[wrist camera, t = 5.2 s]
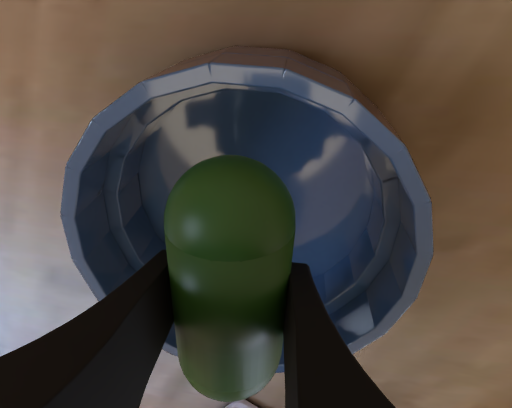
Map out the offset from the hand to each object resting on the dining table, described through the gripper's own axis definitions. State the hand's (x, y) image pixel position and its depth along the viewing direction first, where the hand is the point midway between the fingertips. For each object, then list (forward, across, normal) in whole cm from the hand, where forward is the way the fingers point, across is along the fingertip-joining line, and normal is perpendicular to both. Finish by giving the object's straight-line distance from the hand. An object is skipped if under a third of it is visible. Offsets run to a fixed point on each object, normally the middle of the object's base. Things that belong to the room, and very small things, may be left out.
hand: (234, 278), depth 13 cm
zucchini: (+1, 0, 0) cm, 1 cm away
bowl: (+6, 0, 0) cm, 6 cm away
